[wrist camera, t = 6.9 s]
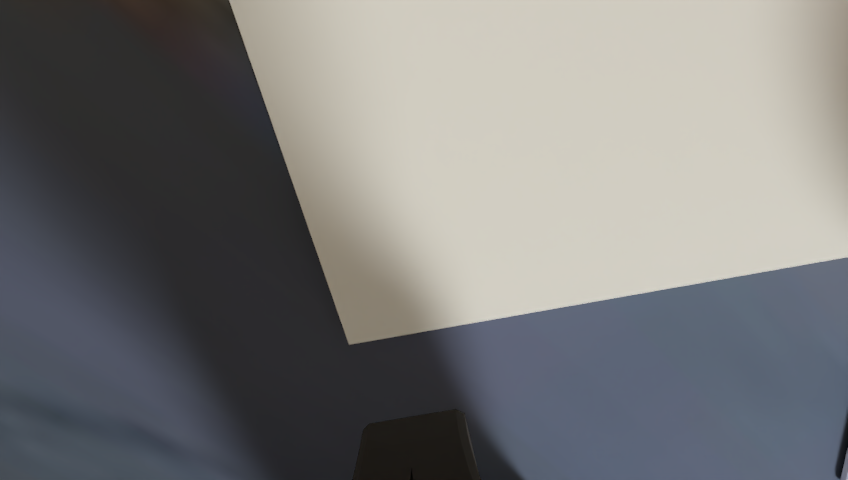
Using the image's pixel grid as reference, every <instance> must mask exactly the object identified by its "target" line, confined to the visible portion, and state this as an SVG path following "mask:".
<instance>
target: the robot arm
mask: <svg viewBox="0 0 848 480" xmlns="http://www.w3.org/2000/svg"><path fill="white" fill-rule="evenodd" d="M352 480H481V478H480V475H479V472H478V468H477V463H476V459H475V455H474V451H473V447H472V442H471V438H470V434H469V430H468V426H467V421H466V417H465V413H462V412H460V411H458V410H456V409H454V410H448V411H442V412H436V413H430V414H424V415H418V416H412V417H406V418H400V419H394V420H388V421H383V422H377V423H371V424H369V425H368V426H367V427H366V428H365V429H364V430H363V433H362V439H361V444H360V449H359V454H358V458H357V463H356V467H355V471H354V475H353V479H352ZM840 480H848V449H847V453H846V458H845V462H844V466H843V471H842V475H841V479H840Z"/></svg>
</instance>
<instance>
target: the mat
mask: <svg viewBox="0 0 848 480" xmlns="http://www.w3.org/2000/svg"><path fill="white" fill-rule="evenodd" d="M229 1H230V4H231V7H232V10H233V13H234V16H235V19H236V22H237V24H238V27H239V30H240V33H241V36H242V39H243V42H244V45H245V47H246V50H247V53H248V56H249V59H250V62H251V65H252V68H253V70H254V73H255V76H256V79H257V82H258V85H259V88H260V91H261V93H262V96H263V99H264V102H265V105H266V108H267V111H268V114H269V116H270V119H271V122H272V125H273V128H274V131H275V134H276V137H277V139H278V142H279V145H280V148H281V151H282V154H283V157H284V160H285V162H286V165H287V168H288V171H289V174H290V177H291V180H292V183H293V185H294V188H295V191H296V194H297V197H298V200H299V203H300V205H301V208H302V211H303V214H304V217H305V220H306V223H307V226H308V228H309V231H310V234H311V237H312V240H313V243H314V246H315V249H316V251H317V254H318V257H319V260H320V263H321V266H322V269H323V272H324V274H325V277H326V280H327V283H328V286H329V289H330V292H331V295H332V297H333V300H334V303H335V306H336V309H337V312H338V315H339V318H340V320H341V323H342V326H343V329H344V332H345V335H346V338H347V341H348V343H349V345H351V344H356V343H362V342H368V341H374V340H379V339H385V338H391V337H396V336H402V335H408V334H413V333H419V332H425V331H430V330H436V329H442V328H447V327H453V326H459V325H464V324H470V323H476V322H481V321H487V320H493V319H498V318H504V317H510V316H516V315H521V314H527V313H533V312H538V311H544V310H550V309H555V308H561V307H567V306H572V305H578V304H584V303H589V302H595V301H601V300H606V299H612V298H618V297H623V296H629V295H635V294H641V293H646V292H652V291H658V290H663V289H669V288H675V287H680V286H686V285H692V284H697V283H703V282H709V281H714V280H720V279H726V278H731V277H737V276H743V275H748V274H754V273H760V272H766V271H771V270H777V269H783V268H788V267H794V266H800V265H805V264H811V263H817V262H822V261H828V260H834V259H839V258H845V257H848V0H229Z"/></svg>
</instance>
